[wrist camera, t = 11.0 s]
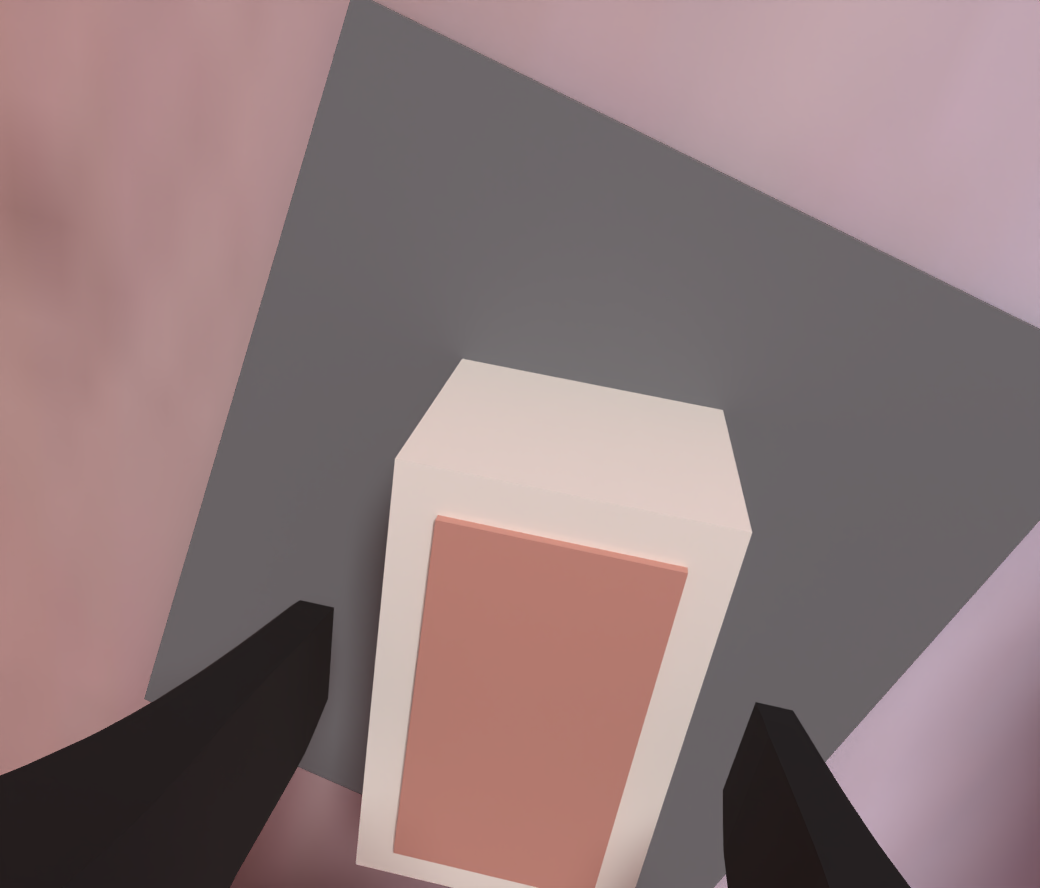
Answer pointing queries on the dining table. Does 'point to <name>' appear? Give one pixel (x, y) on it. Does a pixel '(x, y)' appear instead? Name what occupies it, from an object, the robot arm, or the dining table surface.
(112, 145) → the dining table surface
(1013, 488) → the charcoal mat
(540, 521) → the card deck
